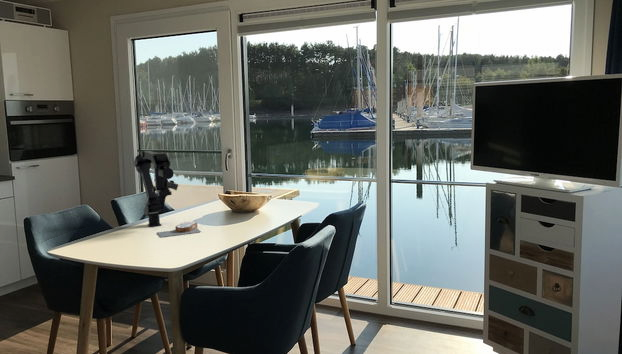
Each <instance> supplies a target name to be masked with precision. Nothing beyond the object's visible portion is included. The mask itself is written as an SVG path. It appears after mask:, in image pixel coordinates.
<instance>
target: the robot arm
mask: <svg viewBox="0 0 622 354" xmlns="http://www.w3.org/2000/svg"><path fill="white" fill-rule="evenodd" d="M152 165H153V169H154V171H153V172H154V179H152V176H151V172H150V171H151V168H152ZM133 166H134V168H135V170H136V171H137V173H139V174H140V176H141V179H142V184H143V188H144V190H145V195H146V201H145V207H144V210H143V212H144V213H143V214H144V216H147V217H148V218H147V219H148V223H147V226H148V227H149V228H151V227H159V226H162V224H161V221H160V215H162V214H164V213H163V212H164V207H165V203H166V198H167V197H168V196H172V195H173V194H172V190H173V191H178V187H179V184H178V183H175V181H174V180H170V179H172V178H173V176H174V174H175V172H174V170H173V169H172V168H170V166H171V161H170V159H169V156H168V155H167V153H165V152H158V153H157V152H155V151H152V150H150V149H145V150H141V151H140V153H139V154H137V155H136V156H135V158H134V159H133ZM153 181H154V182H153ZM154 184H155V185H154Z"/></svg>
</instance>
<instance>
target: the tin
mask: <svg viewBox="0 0 622 354" xmlns="http://www.w3.org/2000/svg"><path fill="white" fill-rule="evenodd" d="M196 228H197V229H198V223H197V222H196V221H184V222H182V223H179V224H177V225H176V226H175V230H176V232H178V233H184V232H190V231H192V230H194V229H196Z"/></svg>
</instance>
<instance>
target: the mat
mask: <svg viewBox="0 0 622 354" xmlns="http://www.w3.org/2000/svg"><path fill="white" fill-rule="evenodd" d="M200 232H201V233H202V231H201V230H200V229H199V228H198V227H197V228H196V229H194V230H192V231H190V232H184V233H178V232H176V229H174V230H167V231H159V232H156V234H157V235H158V236H159V237H160V238H168V237H176V236H183V235H184V236H185V235H191V234H199V233H200Z"/></svg>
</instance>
